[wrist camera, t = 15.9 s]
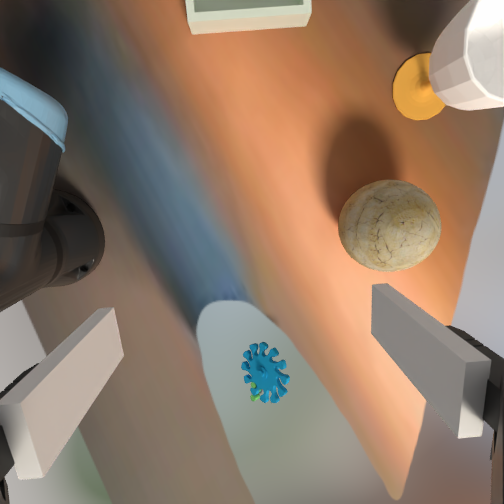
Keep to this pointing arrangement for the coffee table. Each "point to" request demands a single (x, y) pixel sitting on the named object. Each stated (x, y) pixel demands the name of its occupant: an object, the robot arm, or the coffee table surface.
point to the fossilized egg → (389, 225)
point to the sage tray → (245, 15)
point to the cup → (457, 66)
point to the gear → (264, 373)
